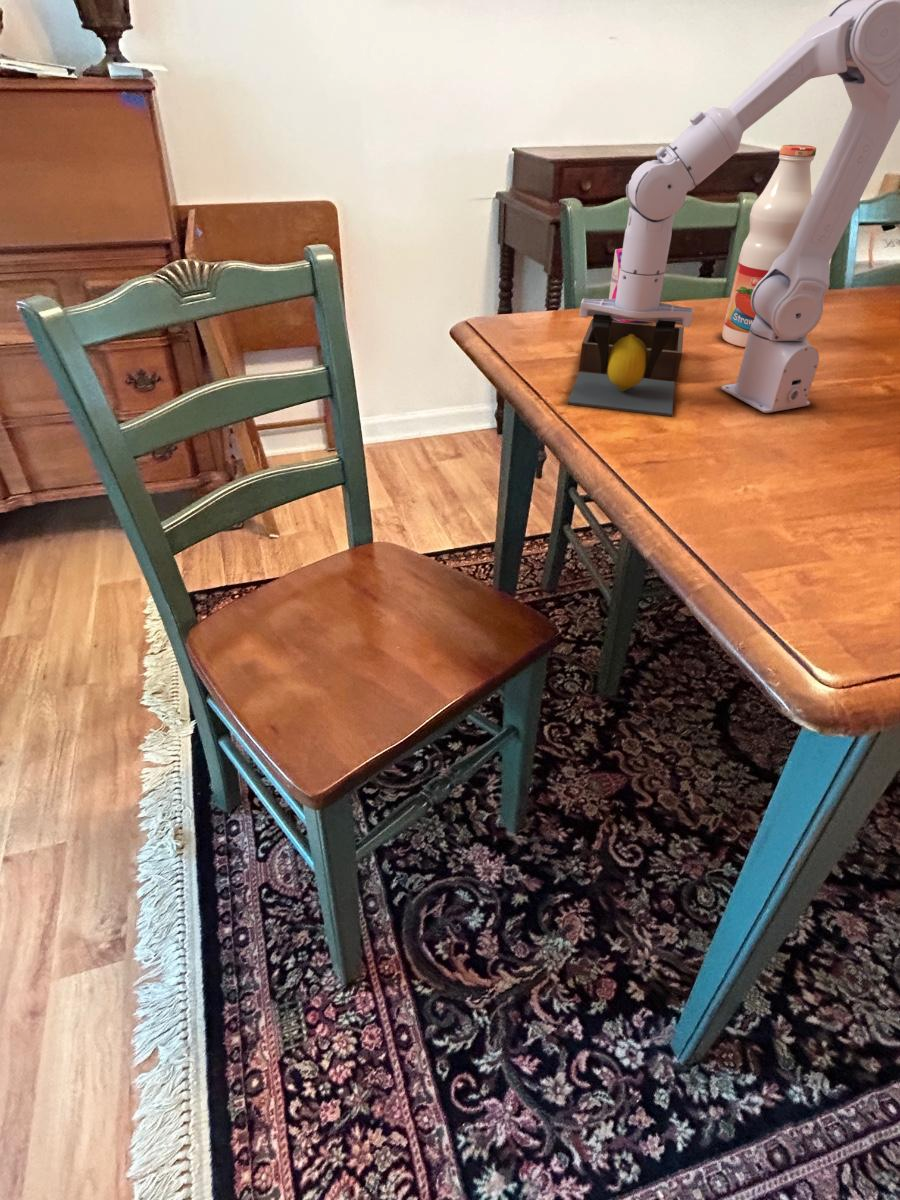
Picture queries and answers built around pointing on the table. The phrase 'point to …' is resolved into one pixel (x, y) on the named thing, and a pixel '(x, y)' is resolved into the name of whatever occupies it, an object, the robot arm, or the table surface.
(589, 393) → the placemat
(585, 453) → the table surface
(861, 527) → the table surface
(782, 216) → the fruit juice
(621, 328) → the dark brown shallow box
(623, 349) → the lemon
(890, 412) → the table surface
